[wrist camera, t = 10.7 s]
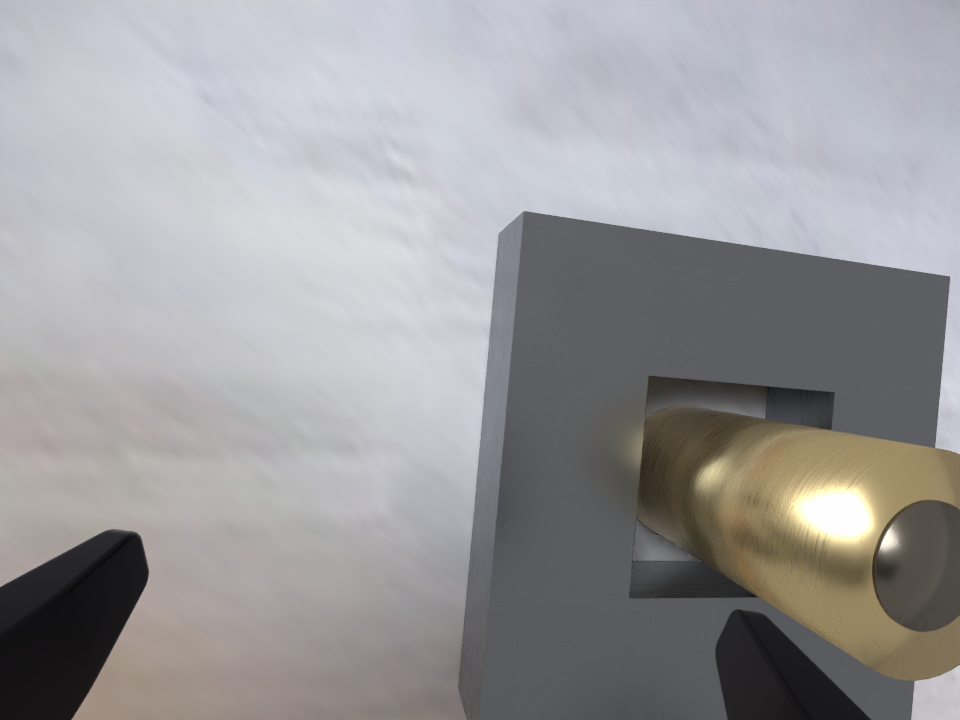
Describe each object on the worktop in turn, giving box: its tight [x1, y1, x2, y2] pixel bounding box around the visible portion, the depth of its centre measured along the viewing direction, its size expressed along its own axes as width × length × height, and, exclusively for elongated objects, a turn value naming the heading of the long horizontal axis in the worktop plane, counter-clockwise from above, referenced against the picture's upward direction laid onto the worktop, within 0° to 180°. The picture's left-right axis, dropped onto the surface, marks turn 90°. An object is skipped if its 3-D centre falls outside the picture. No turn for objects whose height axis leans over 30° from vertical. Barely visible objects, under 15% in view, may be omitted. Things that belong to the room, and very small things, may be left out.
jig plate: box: [458, 211, 950, 720], centre depth 19 cm, size 16×16×3 cm
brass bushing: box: [636, 406, 960, 681], centre depth 16 cm, size 5×5×9 cm
